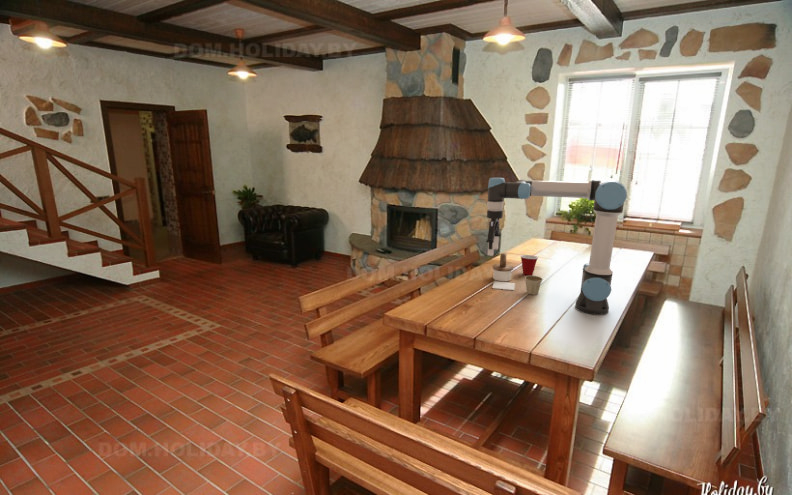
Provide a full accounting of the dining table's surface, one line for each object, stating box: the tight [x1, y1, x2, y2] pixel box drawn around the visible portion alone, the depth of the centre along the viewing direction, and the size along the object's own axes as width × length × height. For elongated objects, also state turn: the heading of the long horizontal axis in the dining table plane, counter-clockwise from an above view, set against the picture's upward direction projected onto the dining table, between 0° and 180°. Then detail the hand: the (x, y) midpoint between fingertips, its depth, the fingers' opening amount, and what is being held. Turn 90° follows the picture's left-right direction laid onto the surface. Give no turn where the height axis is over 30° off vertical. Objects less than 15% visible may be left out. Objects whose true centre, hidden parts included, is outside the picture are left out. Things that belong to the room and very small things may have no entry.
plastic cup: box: [520, 254, 539, 277], centre depth 262 cm, size 11×11×12 cm
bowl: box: [492, 269, 512, 282], centre depth 254 cm, size 10×10×6 cm
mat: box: [491, 280, 516, 291], centre depth 241 cm, size 12×12×1 cm
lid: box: [492, 252, 514, 272], centre depth 252 cm, size 12×12×9 cm
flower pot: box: [524, 275, 544, 296], centre depth 229 cm, size 9×9×9 cm
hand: (492, 252), depth 207 cm, fingers open, 13 cm apart
